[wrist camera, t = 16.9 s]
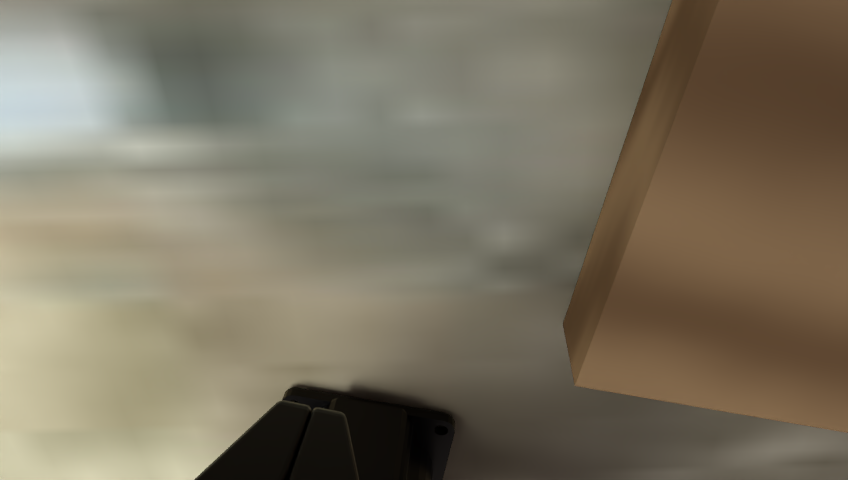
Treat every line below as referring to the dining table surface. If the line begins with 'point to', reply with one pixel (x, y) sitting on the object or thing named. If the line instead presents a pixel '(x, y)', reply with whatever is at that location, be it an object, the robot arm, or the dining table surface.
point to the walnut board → (728, 221)
